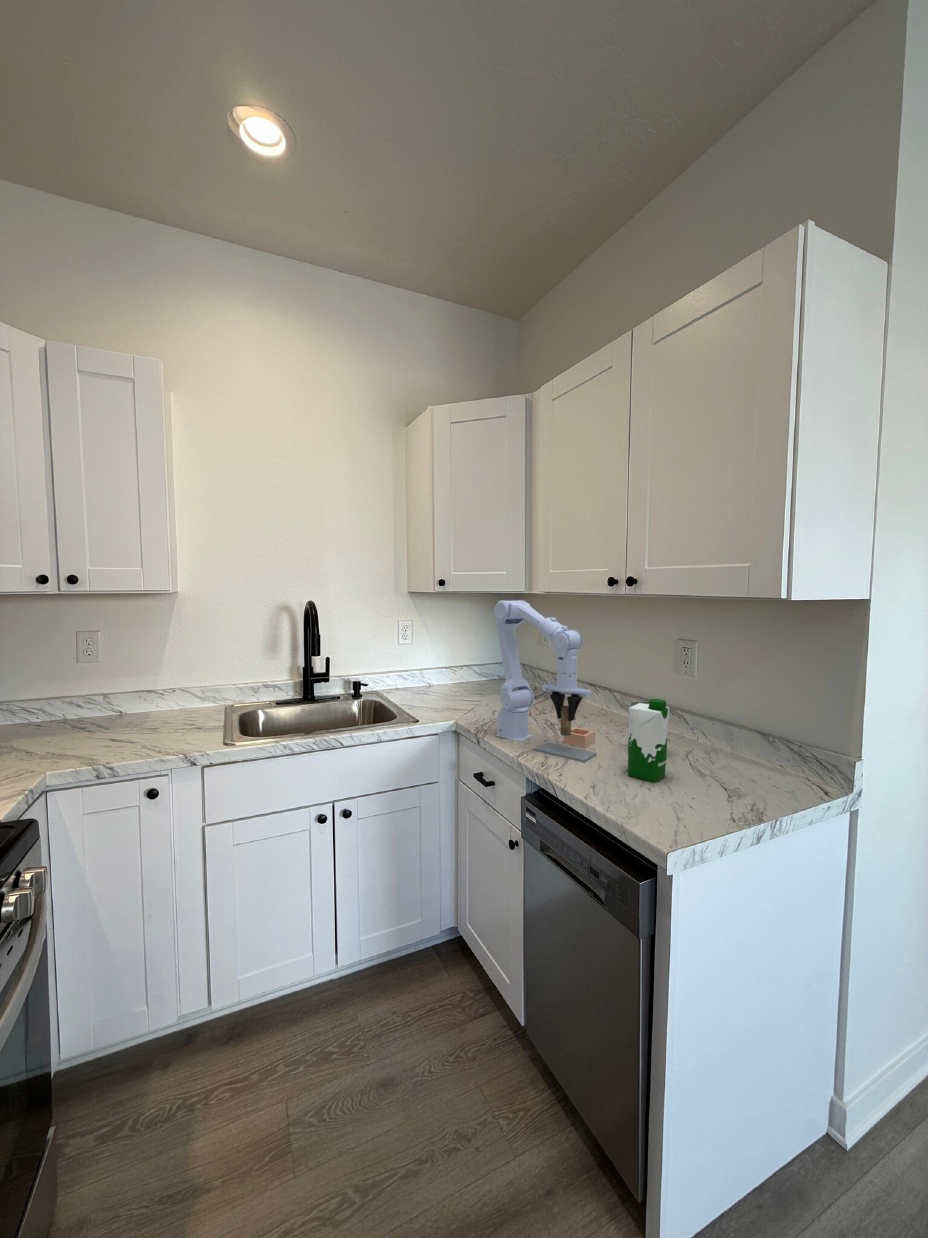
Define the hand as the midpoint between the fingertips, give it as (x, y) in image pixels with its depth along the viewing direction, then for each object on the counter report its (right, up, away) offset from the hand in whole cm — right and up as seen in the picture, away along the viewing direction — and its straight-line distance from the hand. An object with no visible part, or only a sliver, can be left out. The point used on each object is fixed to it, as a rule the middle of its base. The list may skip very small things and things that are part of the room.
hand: (565, 719), depth 148 cm
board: (0, -10, +1) cm, 10 cm away
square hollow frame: (+6, -10, +10) cm, 16 cm away
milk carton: (+18, -12, -15) cm, 26 cm away
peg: (0, -4, 0) cm, 4 cm away
